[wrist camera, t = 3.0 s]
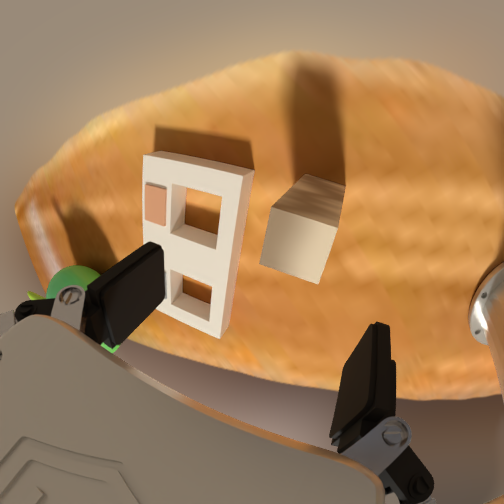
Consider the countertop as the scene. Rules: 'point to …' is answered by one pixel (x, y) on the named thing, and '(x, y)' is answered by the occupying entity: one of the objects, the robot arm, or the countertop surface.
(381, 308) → the countertop surface
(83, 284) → the toy bird
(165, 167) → the socket block
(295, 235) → the maple peg
